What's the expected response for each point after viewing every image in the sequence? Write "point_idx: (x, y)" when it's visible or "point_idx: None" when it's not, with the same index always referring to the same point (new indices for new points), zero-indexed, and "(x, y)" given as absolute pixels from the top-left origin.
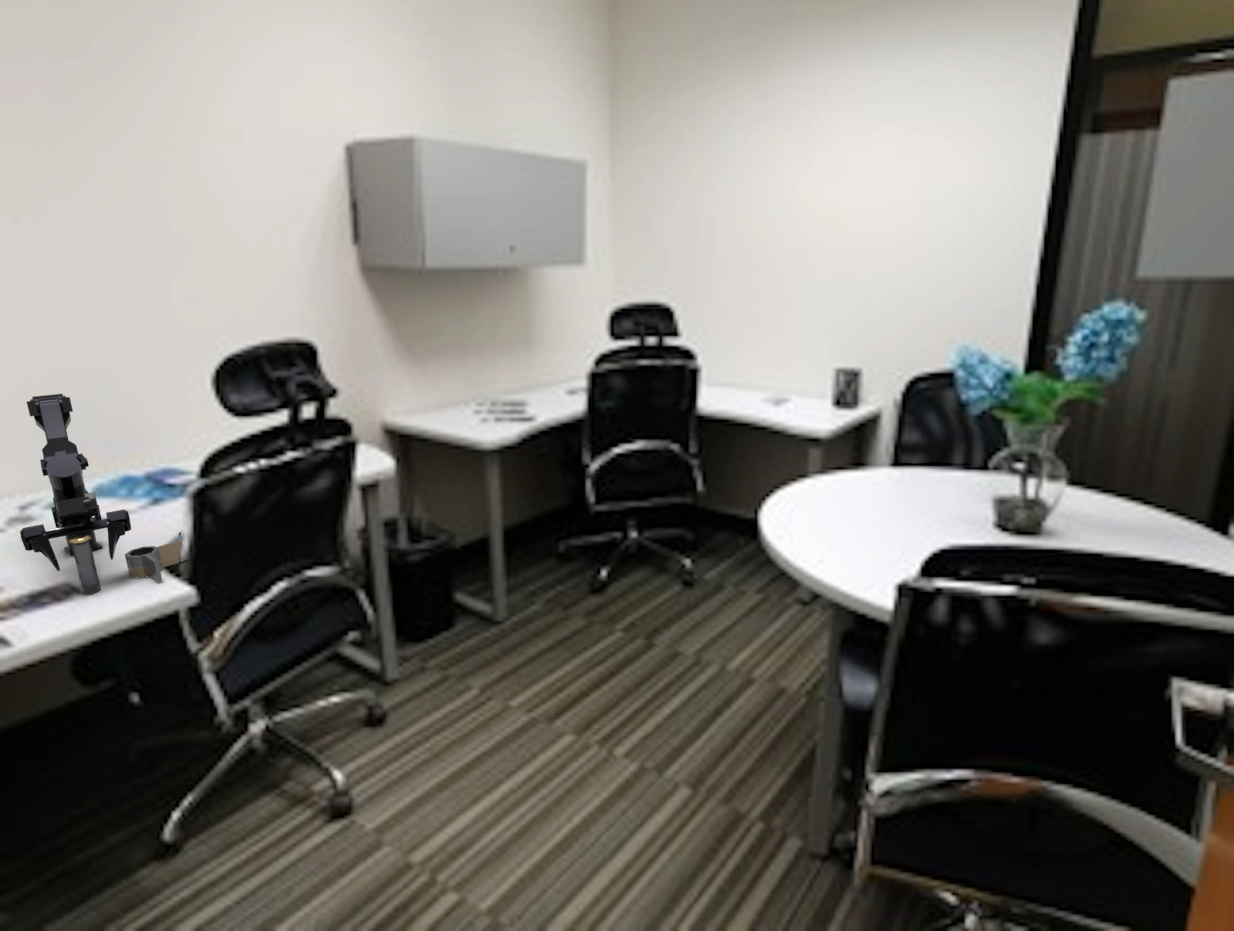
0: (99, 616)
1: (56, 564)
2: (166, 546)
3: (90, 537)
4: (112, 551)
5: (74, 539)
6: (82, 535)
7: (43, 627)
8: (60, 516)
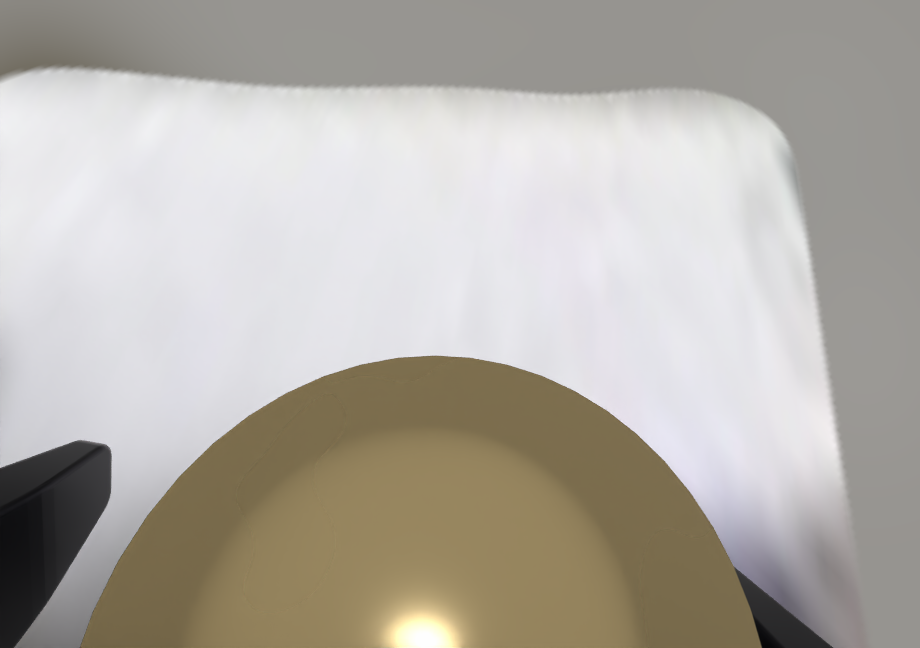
0: (449, 153)
1: (744, 589)
2: None
3: (153, 538)
4: (3, 472)
5: (607, 579)
6: None
7: (684, 241)
8: None
